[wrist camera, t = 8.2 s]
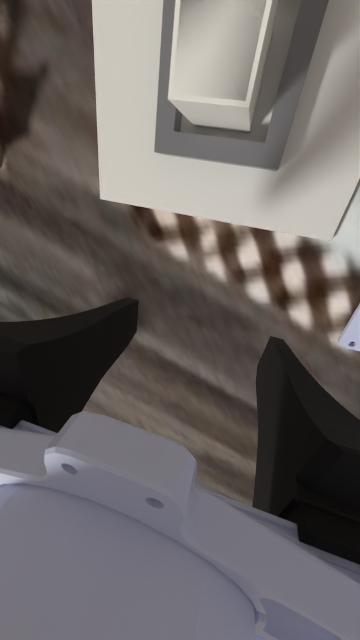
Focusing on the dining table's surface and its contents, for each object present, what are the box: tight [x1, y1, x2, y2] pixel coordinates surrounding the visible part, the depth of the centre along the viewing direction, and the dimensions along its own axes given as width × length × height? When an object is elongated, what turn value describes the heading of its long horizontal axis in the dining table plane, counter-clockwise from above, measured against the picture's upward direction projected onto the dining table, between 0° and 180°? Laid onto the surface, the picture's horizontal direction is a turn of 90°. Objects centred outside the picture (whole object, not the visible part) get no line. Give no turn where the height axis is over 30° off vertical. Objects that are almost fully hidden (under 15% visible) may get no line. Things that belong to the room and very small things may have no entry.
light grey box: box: [168, 0, 278, 133], centre depth 12 cm, size 4×4×6 cm
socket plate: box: [92, 0, 360, 241], centre depth 13 cm, size 18×16×2 cm
